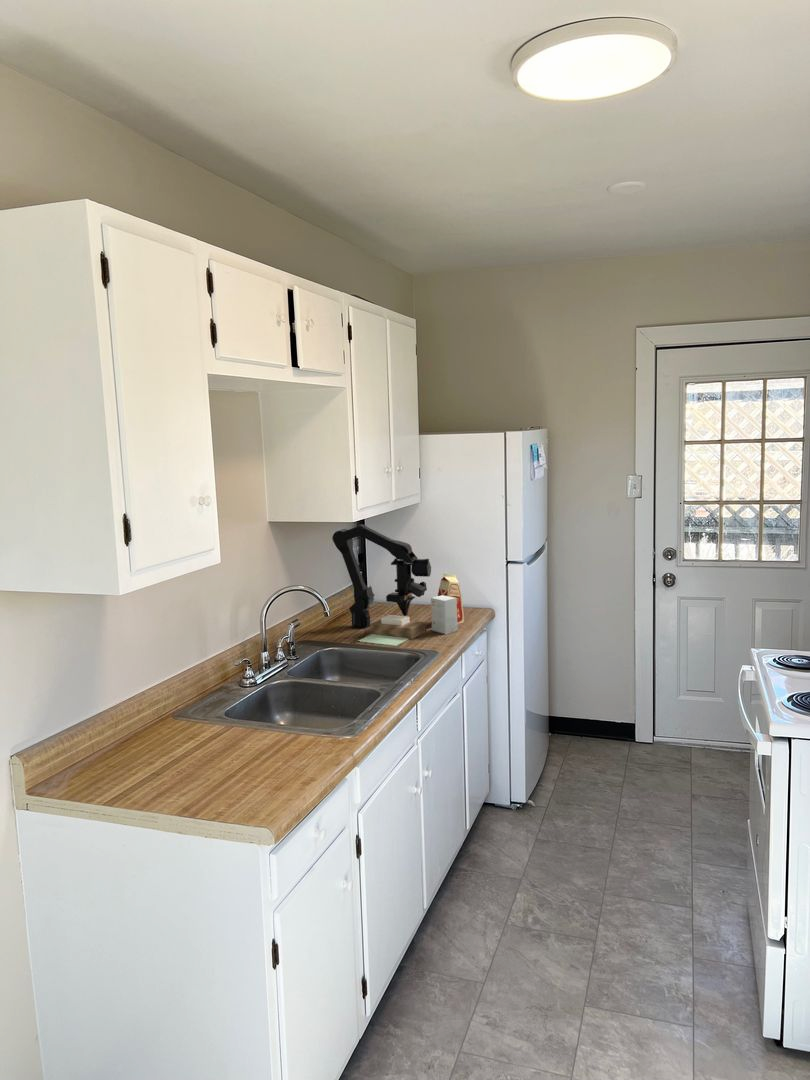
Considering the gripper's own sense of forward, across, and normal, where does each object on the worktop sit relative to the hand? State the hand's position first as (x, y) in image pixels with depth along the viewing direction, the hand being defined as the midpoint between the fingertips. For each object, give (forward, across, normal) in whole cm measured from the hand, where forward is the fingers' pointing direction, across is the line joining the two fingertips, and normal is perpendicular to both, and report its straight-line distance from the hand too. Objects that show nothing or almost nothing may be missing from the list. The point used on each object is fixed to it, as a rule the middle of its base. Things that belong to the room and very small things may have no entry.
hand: (405, 615), depth 312 cm
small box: (+5, +2, -16) cm, 17 cm away
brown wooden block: (+5, -8, -1) cm, 10 cm away
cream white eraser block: (+1, -8, 0) cm, 8 cm away
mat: (+5, -19, -1) cm, 19 cm away
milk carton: (+5, +15, -12) cm, 20 cm away
